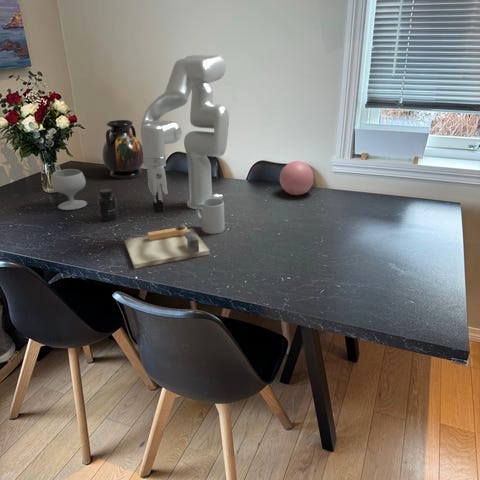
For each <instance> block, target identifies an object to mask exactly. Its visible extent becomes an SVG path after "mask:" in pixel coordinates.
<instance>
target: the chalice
mask: <svg viewBox="0 0 480 480" xmlns="http://www.w3.org/2000/svg"><path fill="white" fill-rule="evenodd" d="M86 183H87V182H86V177H85V176H84V173H83V172H82V170H80V169H76V168H66V169H65V168H64V169H60V170H56V171H54V172H52V173H51V175H50V187H51V189H52V190H53V191H55V192H57V193H60V194H63V195H66V197H68V198H69V199H68V200H67V201H64V202H62V203H60V204H59V205H58V206H57V208H58V209H59V210H63V211H72V210H73V211H75V210H79V209H81V208H84V207H86V206H87V205H88V202H87V201H85V200H82V199H75V195H76V193H78V192H79V191H81V190H82V189H84V188H85V186H86V185H87V184H86Z"/></svg>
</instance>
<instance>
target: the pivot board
mask: <svg viewBox="0 0 480 480" xmlns="http://www.w3.org/2000/svg"><path fill="white" fill-rule="evenodd" d="M177 227H178V229H180V230H182V229H185V227H186V225H185V223H184V224H183V223H180V224H179V223H178V225H177ZM123 240H124V245H125V248H126V250H127V254H128V255H129V259H130V260H131V263H132V266H133V268H134V269H141V268H146V267H151V266H156V265H163V264H167V263H170V262H171V263H172V262H176V261H181V260H189V259H192V258H193V259H194V258H196V257H203V256H208V255H211V254H210V253H211V252H210V248H208V246H207V245H206V244H205V243H204V241H203V240H202V238H201V237H200V236H199V235H198V233H197V232H196V231H195V230H194V228H187V232H185V233H184V235H183V236H179V235H178V236H172V237H167V238H161V239H155V240H149V239H148V235H146V236H144V235H143V236H140V237H133V238H128V239H123Z"/></svg>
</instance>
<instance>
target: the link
mask: <svg viewBox="0 0 480 480" xmlns="http://www.w3.org/2000/svg"><path fill="white" fill-rule="evenodd" d="M187 229H188V227H187V226H185V229H182V230H180V229H178V226H177V227H173V228H167V229H161V230H155V231H147V236H148V239H149V240H155V239H161V238H167V237H172V236H178V235H179V236H183V235H184V233H185V232H187Z"/></svg>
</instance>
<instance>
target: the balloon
mask: <svg viewBox="0 0 480 480" xmlns="http://www.w3.org/2000/svg"><path fill="white" fill-rule="evenodd" d="M314 180H315V177H314V171H313V170H312V168H311V166H309V165H308V164H307V163H305V162H303V161H298V160H297V161H296V160H295V161H290V162H289V163H287V164H285V166H284V167H282V169H281V171H280V174H279V183H280V186H281V188H282V189H283V190H284V191H285V192H286V193H287V194H289V195H291V196H302V195H304V194H306V193H307V192H309V191H310V189H311V188H312V186H313V184H314Z"/></svg>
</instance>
